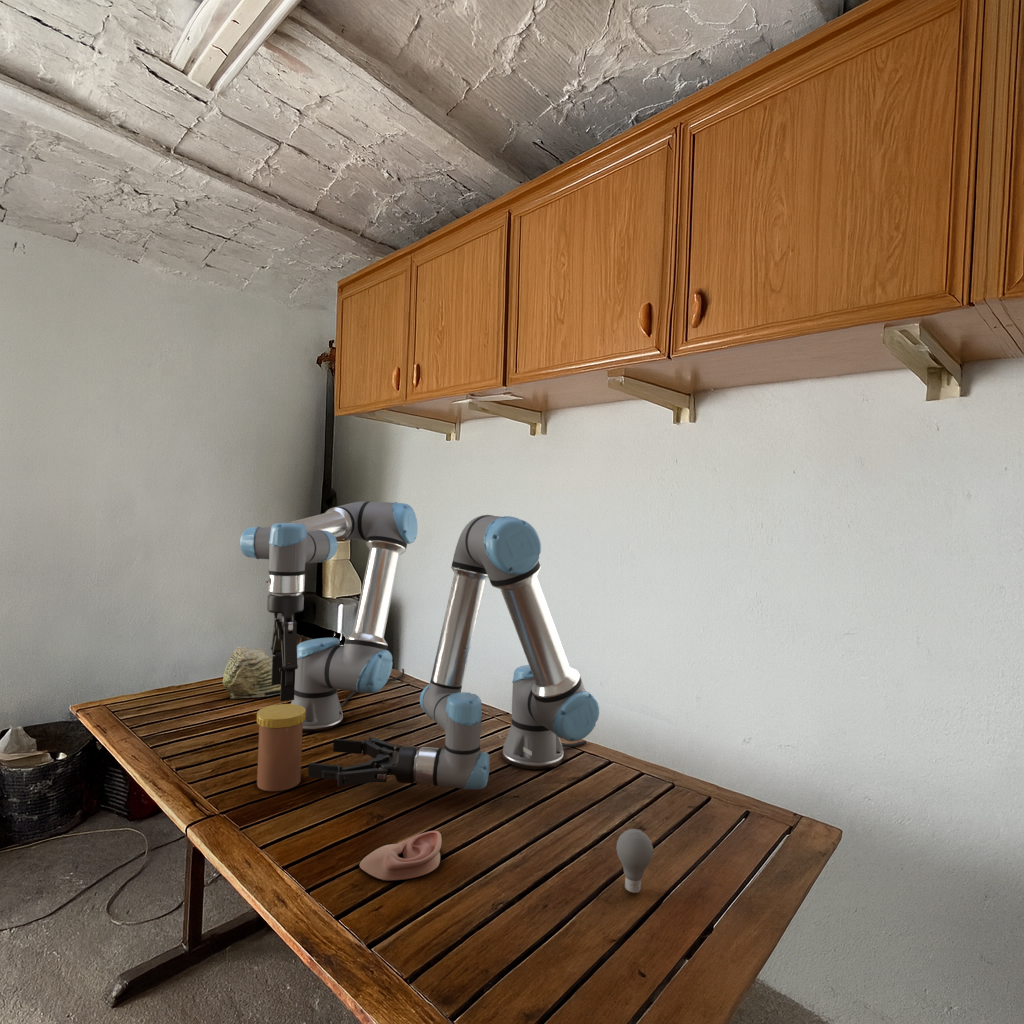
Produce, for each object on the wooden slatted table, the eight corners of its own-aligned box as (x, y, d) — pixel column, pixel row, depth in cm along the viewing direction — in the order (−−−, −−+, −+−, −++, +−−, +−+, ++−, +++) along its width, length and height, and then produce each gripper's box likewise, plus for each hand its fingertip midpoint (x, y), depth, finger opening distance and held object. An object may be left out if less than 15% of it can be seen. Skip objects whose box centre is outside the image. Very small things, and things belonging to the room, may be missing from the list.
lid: (264, 711, 144) (264, 703, 144) (310, 712, 145) (310, 704, 145) (250, 728, 134) (250, 719, 134) (299, 728, 135) (300, 719, 135)
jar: (263, 772, 144) (266, 706, 144) (304, 772, 145) (307, 706, 144) (251, 791, 135) (253, 720, 134) (295, 791, 136) (297, 720, 135)
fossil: (218, 695, 195) (220, 647, 195) (278, 685, 208) (279, 640, 207) (228, 703, 189) (230, 653, 188) (289, 692, 201) (290, 645, 201)
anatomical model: (352, 851, 106) (379, 818, 118) (351, 875, 106) (379, 839, 118) (427, 864, 104) (448, 829, 115) (426, 888, 104) (447, 850, 115)
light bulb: (610, 879, 108) (613, 822, 108) (644, 879, 109) (647, 822, 109) (619, 902, 102) (622, 840, 102) (655, 901, 103) (658, 840, 103)
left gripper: (260, 586, 148) (257, 679, 148) (276, 602, 127) (272, 710, 127) (293, 585, 151) (290, 676, 152) (315, 601, 130) (311, 706, 131)
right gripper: (400, 810, 124) (296, 800, 126) (429, 759, 149) (342, 751, 151) (402, 772, 124) (297, 763, 126) (431, 727, 149) (343, 720, 151)
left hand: (282, 692), depth 139 cm, fingers open, 11 cm apart
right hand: (321, 756), depth 138 cm, fingers open, 13 cm apart
